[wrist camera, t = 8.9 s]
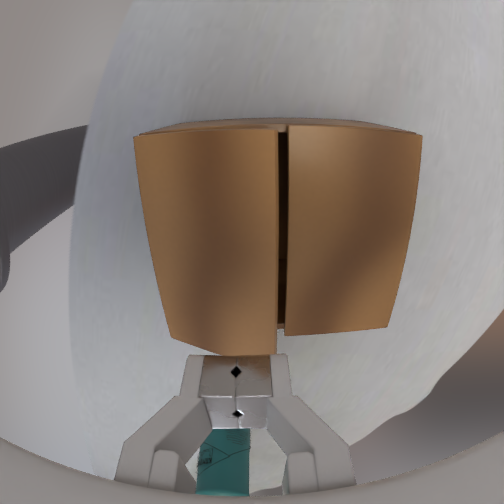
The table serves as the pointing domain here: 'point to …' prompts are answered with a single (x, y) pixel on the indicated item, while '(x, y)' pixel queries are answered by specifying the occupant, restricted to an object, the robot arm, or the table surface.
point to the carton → (337, 218)
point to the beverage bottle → (224, 463)
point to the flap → (214, 234)
